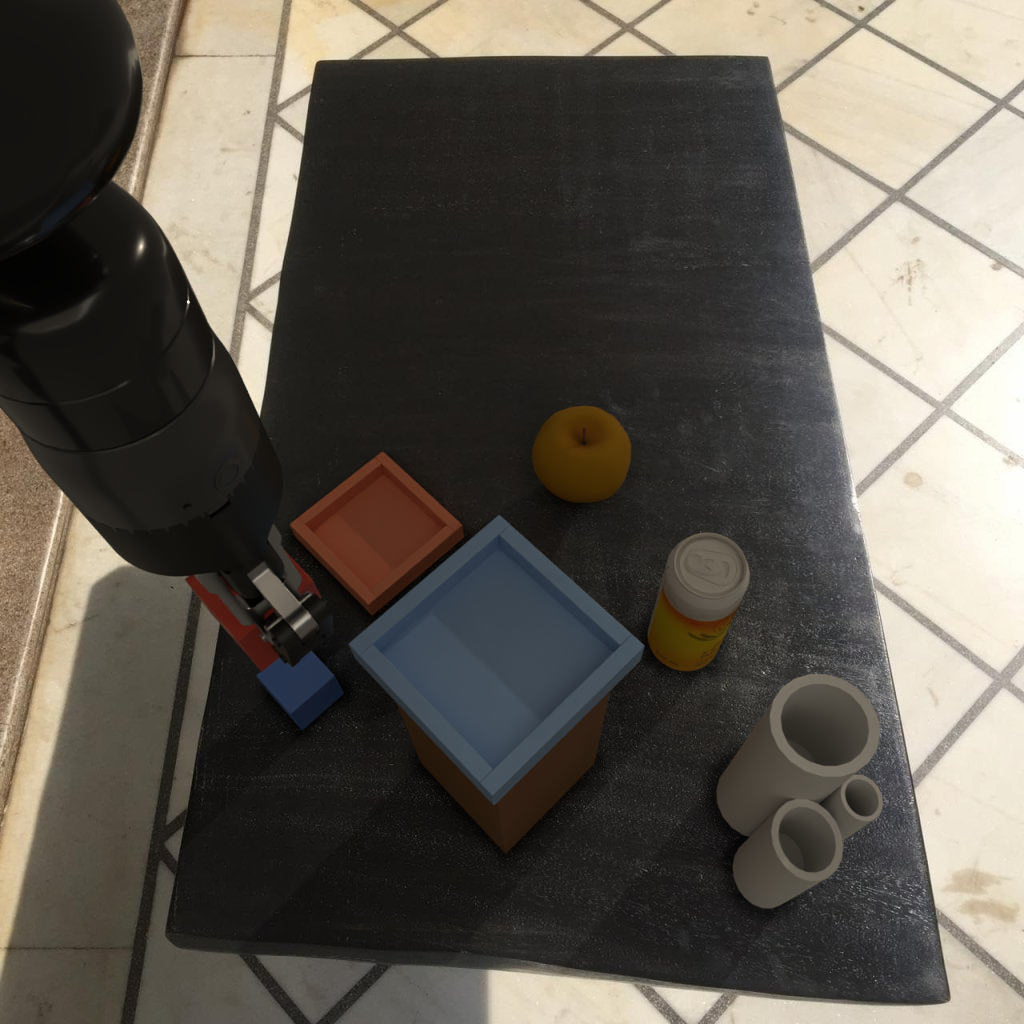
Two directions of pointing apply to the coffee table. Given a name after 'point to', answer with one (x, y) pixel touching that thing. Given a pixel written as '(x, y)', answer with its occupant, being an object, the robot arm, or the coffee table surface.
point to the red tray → (377, 532)
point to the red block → (243, 634)
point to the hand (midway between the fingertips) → (268, 612)
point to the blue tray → (500, 677)
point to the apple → (582, 454)
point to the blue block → (301, 688)
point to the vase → (800, 787)
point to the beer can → (697, 600)
